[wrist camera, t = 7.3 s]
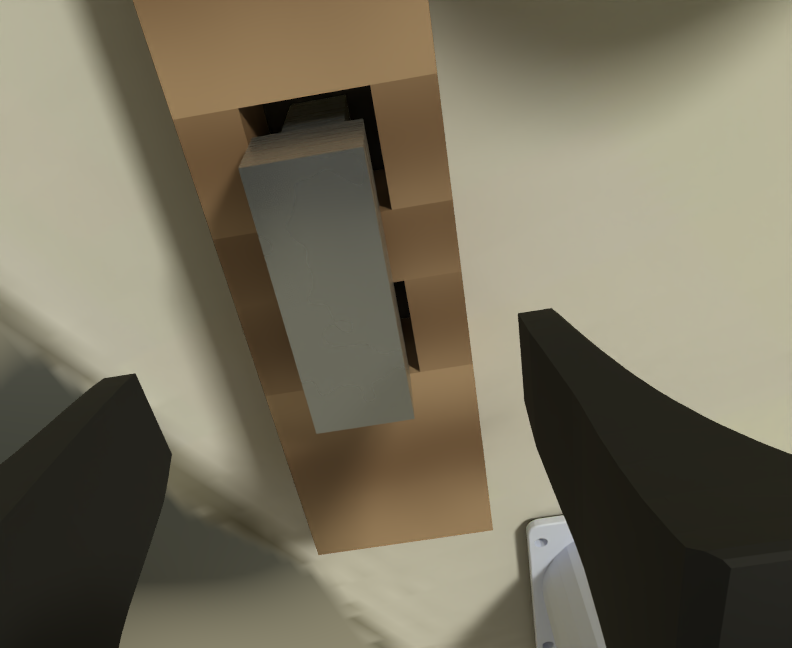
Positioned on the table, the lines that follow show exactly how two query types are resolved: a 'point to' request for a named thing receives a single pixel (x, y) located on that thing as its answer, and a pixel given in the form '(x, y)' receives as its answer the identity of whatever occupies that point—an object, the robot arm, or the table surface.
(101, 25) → the table surface
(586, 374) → the robot arm
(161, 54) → the brown slotted holder
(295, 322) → the grey block
